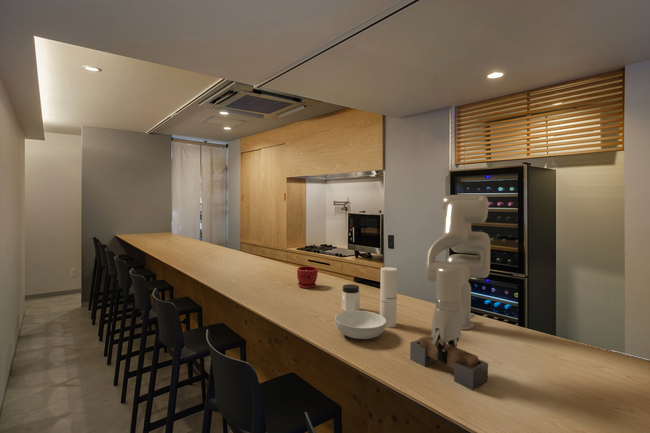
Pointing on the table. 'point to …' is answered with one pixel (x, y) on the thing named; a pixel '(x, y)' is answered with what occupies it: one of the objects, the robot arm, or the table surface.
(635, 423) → the table surface
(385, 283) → the cylindrical container
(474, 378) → the bracket
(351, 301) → the jar
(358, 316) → the serving bowl
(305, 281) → the plant pot
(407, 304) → the table surface
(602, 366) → the table surface
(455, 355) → the walnut rail
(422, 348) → the bracket
